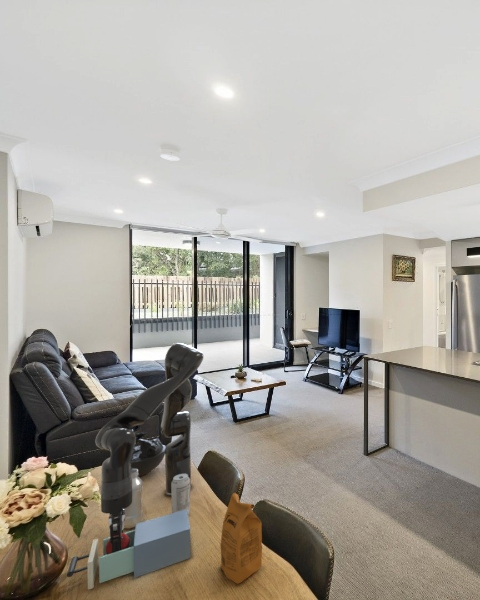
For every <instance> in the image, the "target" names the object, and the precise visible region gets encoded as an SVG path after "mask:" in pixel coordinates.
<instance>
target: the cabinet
mask: <svg viewBox="0 0 480 600" xmlns="http://www.w3.org/2000/svg"><path fill="white" fill-rule="evenodd" d="M189 518H190V517H189V514H188V510H187V509H186V510H182V511H179V512H176V513H172V512H171V513H169V514H166V515H162V516H158V517H154V518H151V519H147V520H143V521H142V522H141V523H137V524H136V527H134V530H135V537H134V571H133V578H138V577H142V576H145V575H146V574H149V573H152V572H155V571H158V570H161V569H163V568H167V567H169V566H172V565H175V564H178V563H180V562H182V561H186V560H188V559H191V527H190V525H191V524H190V519H189Z"/></svg>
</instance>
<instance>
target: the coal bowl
mask: <svg viewBox="0 0 480 600" xmlns="http://www.w3.org/2000/svg"><path fill="white" fill-rule="evenodd" d="M134 433H135V435H136V443H135V447H134V451H133V455H132V458H131V470H132V469H138V477H141V476H144V475H147V474H149V473H151V472H152V471H154V470H155V469H156V468H157V467H159V465H161V463H162V462H163V460H164V459H165V448H166V445H164V444H163V443H162V442H161V440H160V438H159V437H156V438H153V439H151V440H150V439H149V440H148V439H143V437H144V436H146V435H148V434H149V433H148V432H143V431H142V432H138V433H137V432H134ZM138 443H139V445H137V444H138ZM136 445H137V446H136Z"/></svg>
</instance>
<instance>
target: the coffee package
mask: <svg viewBox="0 0 480 600" xmlns="http://www.w3.org/2000/svg"><path fill="white" fill-rule="evenodd" d="M253 509H255V504H254V503H248V502H247V503H246V502H241V500H240V497H239V494H238V493H236V492H233V493H232V495H231V496H230V500H229V502H228V505H227V509H226V512H225V515H224V518H223V521H222V526H221V527H222V529H221V536H220V537H221V538H220V545H219V546H220V547H219V548H220V569H221V570H222V571H223V573H224V575H225V576H226V578H227V579H228V580H229V581H232V582H234V583H235V584H237V585H238V584H241V583H242V582H244V581H245V580H246V579H248V578H249V577H250V576H251V575H253V574H254V573H257V571H259V570H260V568H262V566H263V563H262V562H263V561H262V558H263V544H262V543H263V542H262V541H263V533H262V531H263V530H262V527H263V522H262V521H261V519H260V518H259V516H257V515H256V513H254V511H253Z"/></svg>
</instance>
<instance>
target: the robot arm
mask: <svg viewBox="0 0 480 600" xmlns="http://www.w3.org/2000/svg"><path fill="white" fill-rule="evenodd" d="M203 361H204V353H203V352H202V351H201V350H198V349H197V348H194V347H191V346H190V345H187V344H184V343H181V342H177V343H173V344H171V346H170V347H169V348H168V349H167V352H166V354H165V357H164V373H165V381H162V382H160V383H158V384H155V385H153V386H151V387H149V388H147V389H145V390H143V391H141V393H140V394H139V395H138V396H137V397H136V398H134V400H132V402H131V403H130V404H129V405H128V406H127V408H126V409H125V410H124V411H122V412H121V413H119V414H118V415H117V416H115V417H114V418H112V419H111V420H110V421H109V422H107V423H106V424H105V425H103V426H102V428H101V429H100V430H99V431H98V433H97V435H96V436H95V441H94V442H95V446H96V447H97V448H99V449H100V450H105V451H109V452H110V457H108V458H106V459H105V460H103V462H102V465H101V485H100V510H101V513H102V514H106V515H107V514H109V515H108V519H107V520H108V521H107V522H108V524H109V526H108V528H109V529H108V533H109V537H110V544H112V553H114V552H117V551H120V550H121V549H122V545H121V539H122V533H124V529H125V528H124V521H125V514H126V508H127V507H129V506H130V505H131V503H132V478H131V458H132V455H133V451H134V447H136V445H135V443H136V435H135V433H136V432H135V431H134V429H132V428H133V427H136V426H141V425H143V424H145V423H146V422H147V421H148V420H149V419H150V417H151V416H152V415H153V414H154V413H155V412H156V410H157V409H159V407H160V406H161V405H162V403H163V411H162V416H161V421H160V433H161V435H162V437H164V438H173V437H177V438H176V439H174V440H172V441H171V442H169V443H168V444H167V445H165V447H166V448H165V455H164V461H165V463H164V465H165V467H164V469H165V490H164V491H165V496H170V497H172V492H171V483H172V481H173V478H174V477H175V476H176V475H179V474H188V477H189V478H190V489H191V488H192V473H191V472H192V470H191V467H192V466H191V465H192V464H191V463H192V462H191V460H192V459H191V429H192V417H191V414H190V412H189V411H183V410H184V409H185V408H186V407H187V405H189V403H190V401H191V398H192V392H193V387H192V383H191V381H190V379H189V378H190V377H191V376H192V375H194V374H195V372H196V371H197V370H198V369H199V368H200V367H201V365H202V363H203ZM181 411H182V412H181ZM178 436H179V437H178ZM136 444H137V443H136ZM116 535H119V536H116ZM113 536H116V537H113Z"/></svg>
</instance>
